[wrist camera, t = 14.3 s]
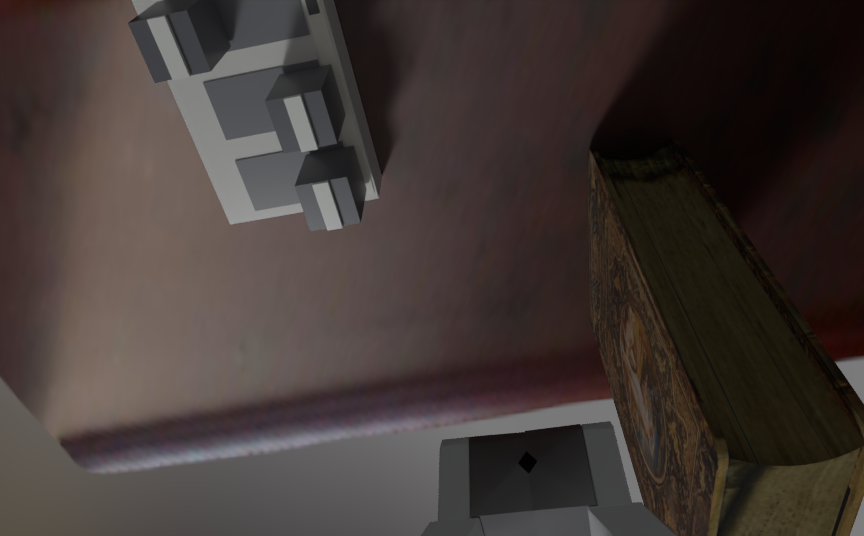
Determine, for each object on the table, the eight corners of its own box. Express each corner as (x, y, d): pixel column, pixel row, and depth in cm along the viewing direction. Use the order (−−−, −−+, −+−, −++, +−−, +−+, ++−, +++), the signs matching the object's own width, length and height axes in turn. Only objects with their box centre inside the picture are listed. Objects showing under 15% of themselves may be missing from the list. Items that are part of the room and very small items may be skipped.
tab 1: (210, -10, 35) (184, 11, 31) (231, 46, 37) (209, 73, 33) (156, 1, 35) (125, 24, 32) (179, 57, 37) (153, 84, 34)
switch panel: (315, -66, 36) (306, -55, 34) (382, 176, 45) (378, 199, 42) (145, -27, 38) (124, -13, 35) (241, 201, 46) (229, 225, 44)
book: (660, 324, 52) (804, 662, 32) (590, 331, 53) (686, 669, 32) (673, 130, 43) (887, 433, 23) (587, 141, 43) (720, 449, 23)
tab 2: (353, 145, 40) (345, 179, 37) (366, 189, 42) (360, 224, 38) (305, 154, 40) (293, 188, 37) (320, 197, 42) (309, 233, 39)
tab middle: (331, 64, 37) (320, 91, 34) (345, 114, 39) (336, 145, 35) (279, 74, 38) (263, 103, 34) (296, 123, 39) (282, 155, 36)
